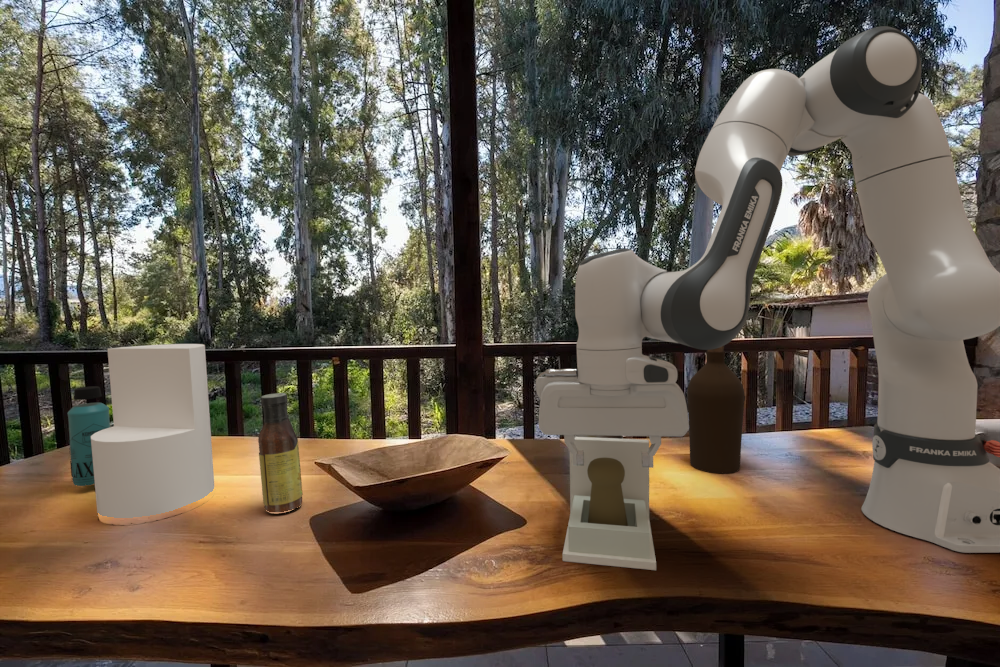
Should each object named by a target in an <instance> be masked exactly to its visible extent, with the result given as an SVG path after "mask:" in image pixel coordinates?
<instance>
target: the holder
mask: <svg viewBox="0 0 1000 667" xmlns="http://www.w3.org/2000/svg"><path fill="white" fill-rule="evenodd" d="M574 444H575V446H576V447H577V449H578V450H581V451H584V466H574V465H573V454H572V453H571V452H570V451H569V495H570V497H569V501H570V502H569V505H570V512H569V513H570V514H569V520H568V524H567V525H568V526H567V529H566V535H565V539H564V544H563V548H562V549H563V550H562V562H569V563H577V564H588V565H590V564H591V565H598V566H609V567H610V566H611V567H618V568H620V567H621V568H629V569H630V568H631V569H638V570H639V569H641V570H651V571H657V561H656V555H655V554H656V553H655V546H654V539H653V535H652V527H651V522H650V468H646V467H642V456H641V452H647V451H648V449H649V447H650V439H641V438H640V439H639V438H638V439H636V438H623V439H618V438H594V437H576V436H575V440H574ZM597 458H613V459H616V460H618V461H620V462H621V463H622V465H623V467H624V470H625V476H624V480H623V482H622V483H621V486H622V492H623V498H624V504H625V511H626V517H627V523H628V526H620V525H607V524H595V523H588V516H589V506H590V496H591V486H592V483H591V481H590V480H589V477H588V473H587V469H588V466H589V464H590V462H591V461H592V460H594V459H597Z"/></svg>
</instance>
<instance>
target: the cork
mask: <svg viewBox="0 0 1000 667" xmlns="http://www.w3.org/2000/svg"><path fill="white" fill-rule="evenodd" d="M587 473H588V477H589V480H590V481H591V483H592V486H591V496H590V506H589V516H588V523H595V524H607V525H620V526H628V523H627V517H626V511H625V504H624V498H623V492H622V486H621V483H622V482H623V480H624V476H625V470H624V467H623V465H622V463H621V462H620V461H618V460H616V459H613V458H597V459H594V460H592V461H591V462H590V464H589V466H588V469H587Z"/></svg>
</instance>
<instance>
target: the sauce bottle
mask: <svg viewBox="0 0 1000 667" xmlns="http://www.w3.org/2000/svg"><path fill="white" fill-rule="evenodd" d="M260 403H261V406H262V410H263V411H262V412H263V425H262V428H261V429H260V431H259V433H258V436H257V442H258V449H259V452H258V456H259V457H258V458H259V468H260V469H259V470H260V480H261V490H262V503H263V505H264V508H265V509H266V510H267V511H269V512H284V511H288V510H292V509H295V508H297V507H299V506H300V505H301V504H302V505H303V495H304V494H303V483H302V481H303V480H302V474H301V472H302V471H301V463H300V461H301V460H300V459H301V458H300V449H299V439H298V436H297V434H296V431H295V430H294V428H293V425H292V423H291V420H290V418H289V415H288V414H289V413H288V405H287V403H288V394H287V393H284V392H277V393H269V394H265V395H262V396H261V397H260ZM302 505H301V506H302ZM301 506H300V507H301ZM300 507H299V508H300ZM265 509H264V510H265Z"/></svg>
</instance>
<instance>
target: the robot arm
mask: <svg viewBox="0 0 1000 667" xmlns="http://www.w3.org/2000/svg"><path fill="white" fill-rule="evenodd" d="M921 85H922V62H921V56H920V52H919V49H918V46H917V45H916V43H915V41H914V40H913V39H912V38H911V37H910V36H909V35H907V34H906V33H905V32H903V31H901V30H899V29H897V28H895V27H891V26H888V25H886V26H883V25H881V26H876V27H875V26H874V27H872V28H869V29H867V30H864V31H863V32H860V33H858V34H855V35H854V36H853V37H850V38H849V39H847V40H846V41H844V42H842V44H840V46H838V48H837V49H835V50H833V51H832V52H830V53H829V54H827V55H825V56H824V57H823V58H822V59H820V60H819V61H817V62H815V63H814V64H813V65H812V66H811V67H809V68H808V69H807V70H806V71H805V72H804V73H803V74H802V75H801V76H800V77H798V76H797V75H796V74H794V73H792V72H790V71H788V70H785V69H780V68H768V69H763V70H760V71H757V72H755V73H753V74H751V75H750V76H749V77H747V78H746V79H745V80H743V82H742V83H741V84H740V85H739V87H738V88H737V89H736V91H735V92H734V93H733V94H732V96H731V97H730V99H729V100H728V102H726V104H725V106H724V108H722V110H721V112H720V114H719V115H718V117H717V118H716V120H715V121H714V124H713V126H712V127H711V129H710V131H709V133H708V135H707V136H706V139H705V141H704V143H703V145H702V147H701V149H700V152H699V153H698V154H699V155H698V157H697V161H696V165H695V169H694V175H695V176H694V177H695V180H696V183H697V185H698V187H699V188H700V190H701V191H702V193H703V194H704V195H705V196H707V197H708V199H710V200H712V201H714V202H715V203H716V204H718V205H721V210H720V213H719V216H718V217H717V220H716V222H715V225H714V228H713V231H712V233H711V235H710V238H709V241H708V242H707V243H708V244H707V246H706V249H705V252H704V253H703V255H702V256H701V258H700V259H699V260H698V261H697V262H696V263H693V265H691V266H689V267H688V268H686V269H684V270H678V271H668V270H666V269H664V268H661V267H658V266H655V265H653V264H651V263H649V262H647V261H645V260H644V259H642V258H641V257H639V256H638V255H637V254H636V253H635V252H634V250H633V249H629V248H618V249H613V250H609V251H605V252H601V253H597V254H593V255H589V256H588V257H585V258H584V259H583V260H582V261H581V262H580V263H579V265H578V268H577V271H576V277H575V287H574V288H575V290H574V293H575V294H574V307H575V309H574V310H575V311H574V313H575V319H576V323H577V327H578V336H577V341H576V364H577V365H576V366H577V368H576V367H575V368H573V367H572V368H559V369H555V368H548V369H545V371H543V372H541V373H540V374H539V375H537V378H536V380H535V392H536V395H537V397H538V399H540V401H539V409H538V410H539V411H538V429H539V430H540V431H541V432H542V434H543V435H546V436H563V437H564V438H563V440H564V444H565V445H566V447H567V449H568V451H569V453H570V452H571V453H572V454H573V465H574V466H584V451H581V450H578V449H577V447H576V446H575V444H574V440H575V437H576V435H600V436H624V437H649V443H650V445H649V449H648V451H647V452H641V456H642V467H646V468H649V469H652V468H653V469H654V457H655V456H656V453H657V452H658V450H659V448H660V447H661V445H662V437H677V438H678V437H681V438H682V437H684V436H685V435H686V434H687V433H688V432H689V416H688V404H687V401H686V400H687V399H686V397H685V396H686V395H685V394H684V391H683V390H682V388H681V386H680V385H679V384H678V383H676V382H677V380H678V369H677V368H676V366H675V365H674V364H673V363H671V362H669V361H666V360H663V359H659V358H656V357H653V356H650V355H646V354H645V355H644V354H643V350H642V349H643V347H642V345H643V339H644V338H648V339H652V340H659V341H663V342H669V343H674V344H681V345H683V346H687V347H690V348H693V349H697V350H701V351H702V350H703V351H708V350H711V349H716V348H719V347H722V346H724V347H725V345H728V344H729V343H730V342H732V341H733V340H734V339H735V338H736V337H737V336H738V334H739V333H741V330H742V329H743V327H744V325H745V323H746V321H747V318H748V314H749V308H750V303H751V302H750V301H751V293H752V286H753V285H752V284H753V282H754V277H755V273H756V269H757V268H758V267H757V266H758V264H759V261H760V258H761V256H762V253H763V250H764V248H765V244H766V241H767V239H768V236H769V233H770V230H771V228H772V225H773V223H774V222H773V221H774V219H775V216H776V213H777V211H778V207H779V204H780V200H781V197H782V191H783V177H782V173H781V170H782V167H783V165H784V163H785V161H786V159H787V157H796V156H797V157H798V156H803V155H808V154H810V153H813V152H815V151H818V150H820V149H821V148H822V147H823V146H826V145H829V144H831V143H833V142H835V141H838V140H840V141H841V142H842V143H843V144H844V145H845V146H846V147H847V149H848V150H849V151H850V154H851V162H852V170H853V171H852V172H853V176H854V182H855V187H856V192H857V196H858V201H859V206H860V211H861V215H862V220H863V225H864V229H865V234H866V236H867V237H868V239H869V240H870V241H871V243H872V245H873V247H874V248H875V250H876V252H877V255H878V257H879V259H880V261H881V263H882V266H883V268H884V270H885V272H886V273H885V274H883V276H881V277H880V278H879V279H878V280H876V282H875V283H874V284H873V285H872V286H871V288H870V290H869V292H868V295H867V307H868V310H869V313H870V318H871V326H872V327H871V329H872V330H871V331H872V337H873V345H874V351H875V357H876V362H877V363H876V364H877V373H878V374H877V375H878V391H877V394H878V395H877V400H878V401H877V422H876V423H875V424H874V425H873V434H872V444H871V445H872V459H873V468H872V475H871V478H870V483H869V488H868V490H867V494H866V496H865V499H864V502H863V503H862V506H861V512H862V514H864V516H866V518H868V519H869V520H871V521H873V522H874V523H876V524H878V525H880V526H882V527H884V528H886V529H889V530H891V531H895V532H897V533H899V534H903V535H905V536H910V537H913V538H916V539H920V540H923V541H927V542H931V543H934V544H936V545H938V546H941V547H944V548H946V549H949V550H950V551H955V552H958V553H966V554H967V553H969V554H971V553H972V554H973V553H975V554H977V553H984V554H985V553H987V554H988V553H995V554H996V553H1000V468H999V467H998V466H996V465H995V464H994V463H992V462H991V460H990V458H989V456H988V454H990V455H993V456H994V457H996V458H1000V442H999V441H997V440H996V439H995V440H994V439H990V440H987V439H985V438H983V437H981V436H980V435H977V434H976V425H977V404H978V403H977V402H978V386H979V385H978V381H977V377H976V375H975V374H974V372H973V370H972V368H971V366H970V365H971V364H970V363H969V359H968V356H967V353H966V352H967V351H966V348H965V344H964V341H965V340H970V339H974V338H976V337H980V336H985V335H987V334H989V333H991V332H993V331H995V330H996V329H998V328H999V327H1000V272H999V270H997V269H996V268H995V267H994V265H993V264H992V263H991V261H990V259H989V258H988V255H987V253H986V251H985V249H984V248H983V245H982V243H981V242H980V240H979V238H978V236H977V234H976V232H975V231H974V229H973V227H972V224H971V223H970V220H969V218H968V216H967V213H966V210H965V208H964V207H965V206H964V204H963V201H962V200H963V199H962V196H961V192H960V188H959V187H960V186H959V182H958V179H957V174H956V170H955V165H954V160H953V157H952V156H953V155H952V153H951V152H952V151H951V147H950V144H949V141H948V137H947V135H946V132H945V129H944V126H943V124H942V120H941V119H940V117H939V115H938V113H937V110H936V108H935V106H934V105H933V103H932V101H931V99H930V98H929V97H927V95H924V94H922V93H920V91H921V88H922V86H921Z"/></svg>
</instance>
